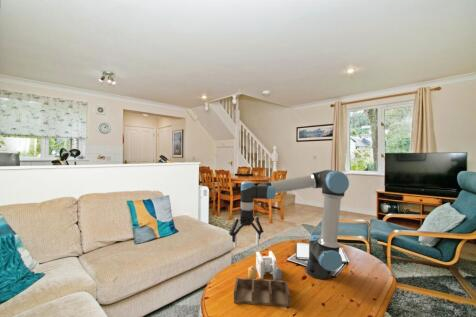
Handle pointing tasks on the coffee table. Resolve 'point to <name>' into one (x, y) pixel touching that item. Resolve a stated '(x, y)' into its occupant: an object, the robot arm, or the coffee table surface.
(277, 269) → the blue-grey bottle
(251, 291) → the brown compartment tray
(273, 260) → the cable organizer
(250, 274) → the yellow knobbed cylinder
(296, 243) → the coffee table surface
